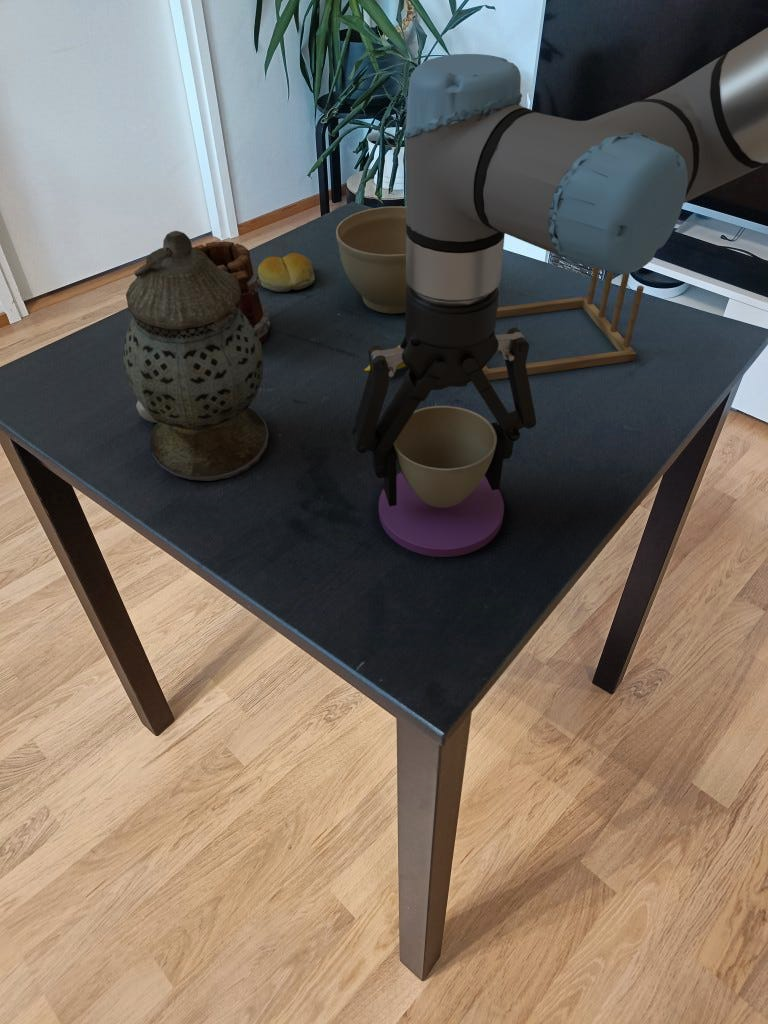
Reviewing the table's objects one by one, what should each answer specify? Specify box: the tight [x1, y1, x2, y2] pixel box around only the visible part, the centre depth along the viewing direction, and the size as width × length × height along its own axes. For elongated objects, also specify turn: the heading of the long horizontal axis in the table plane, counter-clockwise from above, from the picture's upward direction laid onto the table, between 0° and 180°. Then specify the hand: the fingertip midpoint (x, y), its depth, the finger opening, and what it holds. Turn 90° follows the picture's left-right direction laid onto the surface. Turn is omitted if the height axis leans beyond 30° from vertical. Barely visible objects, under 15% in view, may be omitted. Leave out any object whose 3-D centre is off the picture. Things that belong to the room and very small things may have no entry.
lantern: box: [122, 230, 270, 482], centre depth 74 cm, size 14×14×25 cm
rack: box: [482, 267, 645, 381], centre depth 95 cm, size 16×21×10 cm
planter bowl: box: [335, 205, 408, 315], centre depth 104 cm, size 16×16×11 cm
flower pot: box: [393, 405, 497, 508], centre depth 70 cm, size 10×10×7 cm
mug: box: [194, 240, 271, 344], centre depth 96 cm, size 12×14×15 cm
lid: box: [378, 471, 505, 558], centre depth 74 cm, size 13×13×1 cm
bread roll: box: [257, 252, 316, 293], centre depth 111 cm, size 8×9×4 cm
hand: (441, 488), depth 73 cm, fingers closed on flower pot, 10 cm apart
